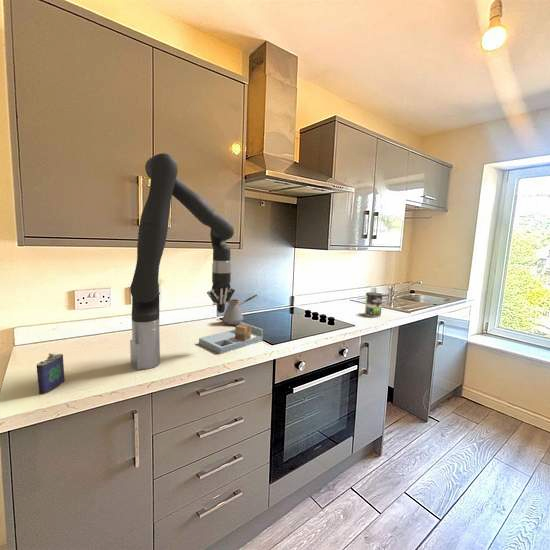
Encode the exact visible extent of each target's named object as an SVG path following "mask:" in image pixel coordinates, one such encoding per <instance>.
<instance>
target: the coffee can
mask: <svg viewBox="0 0 550 550" xmlns="http://www.w3.org/2000/svg"><path fill="white" fill-rule="evenodd" d="M383 296H384V294H383V293H380V292H371V291H370V292H368V291H367V292H365V307H364V315H365V316H367V317H371V318H379V317H382V306H383Z"/></svg>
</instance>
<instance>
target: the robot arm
mask: <svg viewBox="0 0 550 550" xmlns="http://www.w3.org/2000/svg"><path fill="white" fill-rule="evenodd" d="M145 162H146V163H145V167H144V169H145V173H146V175H147V177H148V178H149V179H150V183H149V191H148V196H147V198H146V202H145V204H144V206H143V209H142V212H141V214H140V220H139V225H138V226H139V227H138V232H137V235H138V236H137V245H136V246H137V248H136V251H137V252H136V265H135V269H134V274H133V278H132V281H131V284H130V287H129V288H130V290H129V291H130V295H131V306H132V307H131V335H132V336H131V339H130V342H129V345H130V349H129V350H130V366H132V367H133V368H134V369H136V370H137V371H139V370H148V369H153V368H155V367H157V366H159V365H160V364H161V350H160V349H161V347H160V346H161V341H160V339H161V338H160V337H161V336H160V335H161V334H160V330H161V329H160V283H159V273H160V266H161V265H160V264H161V260H162V256H163V253H164V249H165V246H166V242H167V236H168V229H169V220H170V215H171V214H170V212H171V203H172V197H174V199H176V200H177V201H178V202H180V204H181V205H183V206H184V208H185V209H187V211H189V212H190V214H192V215H193V217H195V218H196V219H197V221H199V222H200V223H201V224H202V225H204V226H206V227H208V228H210V232H209V236H210V241H211V245H212V249H213V250H212V264H211V265H212V267H211V268H212V269H211V270H212V272H211V273H212V275H211V282H212V286H211V289H210V290H208V291H206V295H208V297H209V298H210V300H211V301H212V302H213V303H215V304H217V305H216V307H217V312H218V313H220V314H221V313H222V314H223V313H225V311H226V303H228V302H229V300H231V298H232V297H233V295H234V293H235V291H236V290H235V289H233V288H232V286H231V280H232V279H231V273H232V265H231V248H230V246H228V245H227V240H231V239H232V238H233V237H234V233H235V229H234V227H233V225H232V224H231V223H230V222H229V220H227V219H225V217H223V216H222V215H220V214H219V213H218V212H216V210H214V208H213V207H212V206H211V205H210V204H209V203H208V202H207V201H206V200H205V199H204V198H203V197H202V196H201V195H199V194H198V193H196V192H195V191H193V190H192V189H190V188H189V187H188V186H187V185H186V184H185V183H184V182H183V181H182V180H180V178H179V177H178V172H179V171H178V168H179V167H178V164H177V162H176V160H175V158H174V157H173V156H171V155H170V154H169V153H166V152H165V153H164V152H162V153H158V154H155V155H153V156H151V157H150V158H148V159H147V161H145Z"/></svg>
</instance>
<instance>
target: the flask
mask: <svg viewBox="0 0 550 550" xmlns="http://www.w3.org/2000/svg"><path fill="white" fill-rule="evenodd" d="M47 354H48V357H47V358H46V359H44V361H43V360H41V361H40V362H38V363H37V364H36V374H37V384H38V394H39V395H46V394H47V393H50V392H51V391H53V390H55V389H56V388H58V387H60V386H61V384H63V383H64V382H65V379H66V377H65V370H64V368H65V367H64V365H65V364H64V355H63V354H62V353H59V354H58V353H57V354H56V353H47Z"/></svg>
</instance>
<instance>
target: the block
mask: <svg viewBox="0 0 550 550" xmlns="http://www.w3.org/2000/svg"><path fill="white" fill-rule="evenodd" d="M243 323H244V322H243ZM243 323H241V324H238V325H234V326H235V328H234V329H235V339H237V340H242V341H246V340H248V339H250V338H251V324H249V325H248V323H246V324H243Z"/></svg>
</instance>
